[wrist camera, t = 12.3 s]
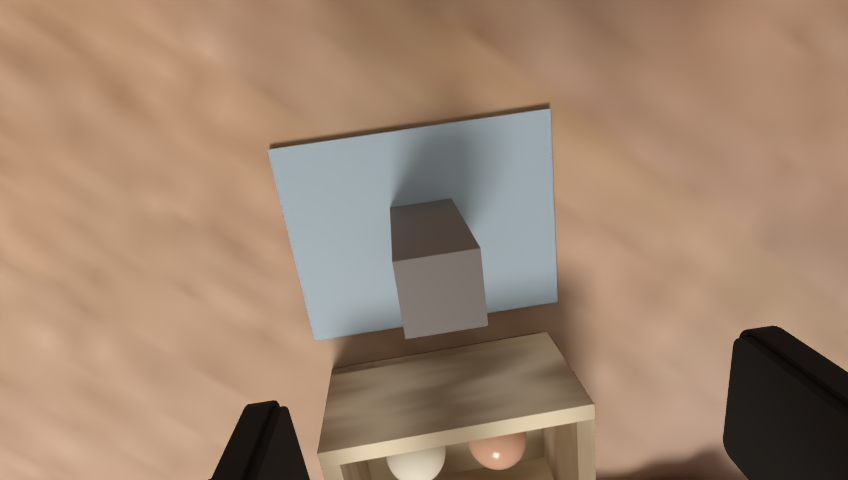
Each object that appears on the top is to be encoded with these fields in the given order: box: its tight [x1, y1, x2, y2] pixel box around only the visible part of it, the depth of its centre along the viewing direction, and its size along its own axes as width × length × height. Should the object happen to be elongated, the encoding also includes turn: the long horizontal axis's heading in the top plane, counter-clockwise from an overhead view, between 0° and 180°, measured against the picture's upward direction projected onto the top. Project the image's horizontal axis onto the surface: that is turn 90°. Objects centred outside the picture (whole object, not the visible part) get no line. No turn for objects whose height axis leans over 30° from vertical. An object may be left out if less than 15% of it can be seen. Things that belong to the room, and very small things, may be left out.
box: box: [317, 332, 596, 480], centre depth 24 cm, size 12×9×6 cm
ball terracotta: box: [467, 431, 526, 470], centre depth 24 cm, size 3×3×3 cm
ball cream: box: [386, 446, 446, 480], centre depth 24 cm, size 3×3×3 cm
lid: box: [268, 108, 558, 341], centre depth 19 cm, size 13×10×8 cm
